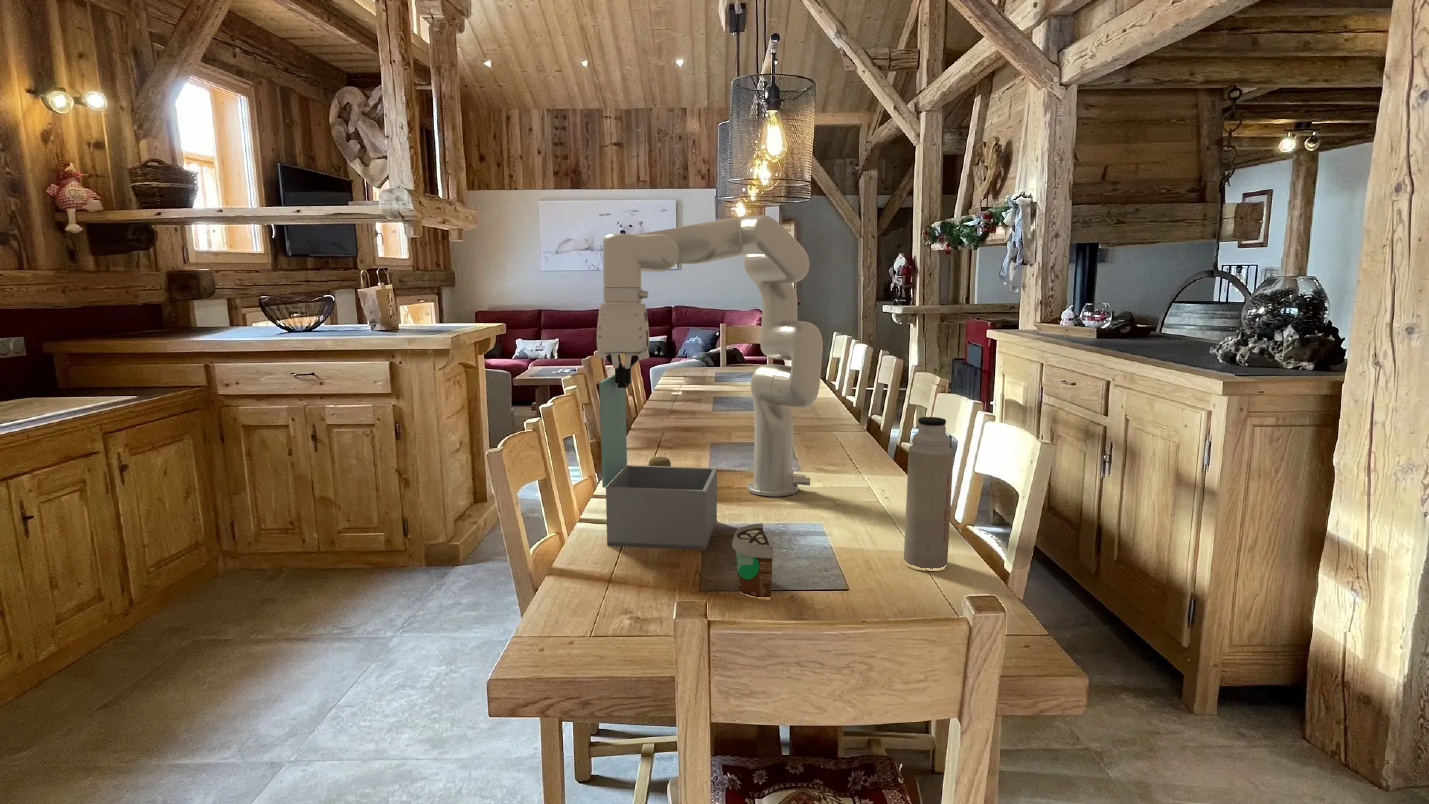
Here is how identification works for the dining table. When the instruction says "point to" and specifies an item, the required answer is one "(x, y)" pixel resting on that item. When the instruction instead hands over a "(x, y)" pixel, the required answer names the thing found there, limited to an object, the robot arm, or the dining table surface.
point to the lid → (612, 429)
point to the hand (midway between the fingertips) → (623, 387)
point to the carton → (662, 507)
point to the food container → (753, 560)
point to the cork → (659, 461)
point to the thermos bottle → (928, 495)
